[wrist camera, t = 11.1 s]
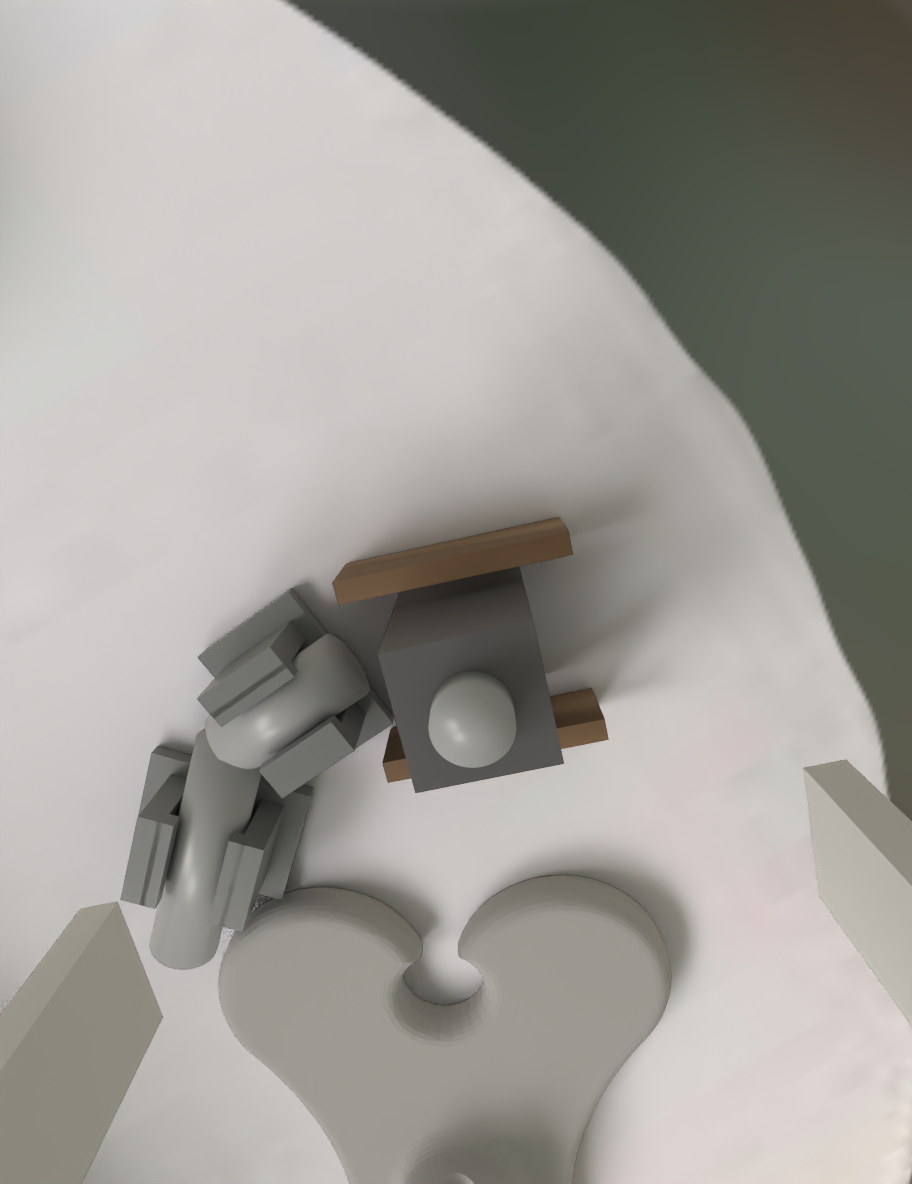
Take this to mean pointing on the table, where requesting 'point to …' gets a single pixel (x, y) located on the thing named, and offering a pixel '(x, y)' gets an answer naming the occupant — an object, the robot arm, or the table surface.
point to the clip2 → (287, 696)
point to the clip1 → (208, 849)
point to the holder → (449, 1026)
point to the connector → (468, 681)
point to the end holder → (460, 560)
